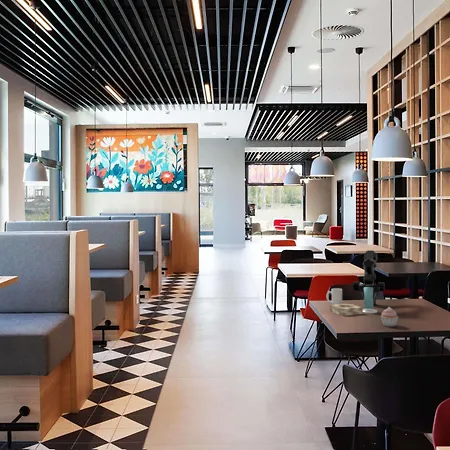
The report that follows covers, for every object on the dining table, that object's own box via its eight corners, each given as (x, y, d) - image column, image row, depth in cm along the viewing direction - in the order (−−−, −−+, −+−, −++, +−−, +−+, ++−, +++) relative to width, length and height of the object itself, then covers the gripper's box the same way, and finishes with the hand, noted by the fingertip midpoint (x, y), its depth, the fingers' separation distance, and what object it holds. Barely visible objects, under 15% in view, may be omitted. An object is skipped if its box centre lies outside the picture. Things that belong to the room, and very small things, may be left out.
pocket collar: (349, 309, 304) (349, 303, 304) (362, 313, 290) (362, 307, 290) (329, 311, 299) (329, 305, 299) (342, 315, 286) (341, 309, 286)
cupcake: (386, 322, 265) (385, 304, 265) (402, 325, 258) (401, 306, 258) (376, 325, 259) (376, 306, 259) (392, 328, 252) (392, 309, 252)
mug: (342, 307, 313) (342, 288, 313) (342, 308, 307) (341, 289, 307) (326, 306, 316) (326, 288, 316) (326, 308, 310) (325, 289, 310)
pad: (370, 309, 303) (370, 308, 303) (380, 312, 293) (380, 311, 293) (357, 310, 300) (357, 309, 300) (366, 313, 290) (366, 312, 290)
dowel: (367, 306, 300) (367, 286, 300) (375, 308, 296) (374, 287, 296) (362, 308, 297) (362, 287, 296) (370, 309, 293) (369, 288, 292)
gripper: (352, 269, 303) (351, 289, 292) (384, 269, 297) (384, 290, 286) (353, 279, 310) (352, 300, 300) (384, 280, 304) (384, 301, 294)
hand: (368, 297), depth 295 cm, fingers closed on dowel, 5 cm apart
